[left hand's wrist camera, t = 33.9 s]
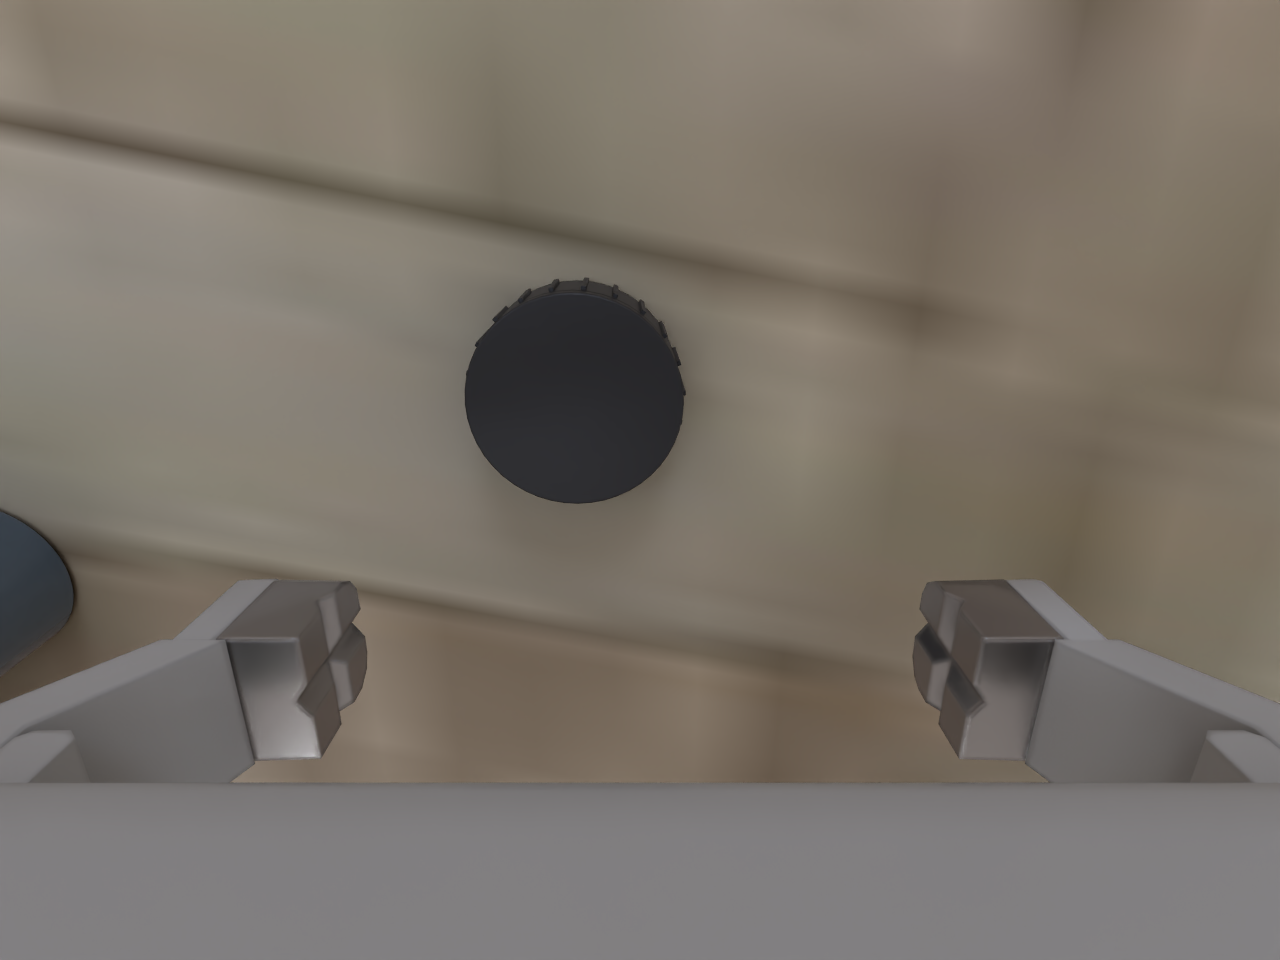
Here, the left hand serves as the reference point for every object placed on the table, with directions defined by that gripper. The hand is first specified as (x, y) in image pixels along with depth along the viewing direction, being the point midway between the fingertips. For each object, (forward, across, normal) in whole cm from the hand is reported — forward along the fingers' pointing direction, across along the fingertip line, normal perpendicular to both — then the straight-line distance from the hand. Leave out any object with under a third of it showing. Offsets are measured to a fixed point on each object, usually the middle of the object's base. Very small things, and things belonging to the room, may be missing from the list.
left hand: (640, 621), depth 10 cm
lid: (+7, +2, -2) cm, 7 cm away
